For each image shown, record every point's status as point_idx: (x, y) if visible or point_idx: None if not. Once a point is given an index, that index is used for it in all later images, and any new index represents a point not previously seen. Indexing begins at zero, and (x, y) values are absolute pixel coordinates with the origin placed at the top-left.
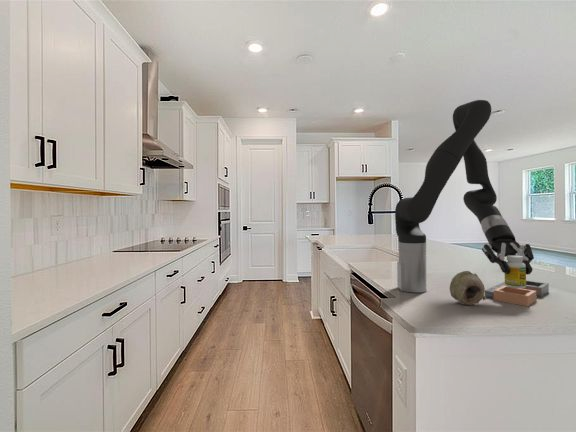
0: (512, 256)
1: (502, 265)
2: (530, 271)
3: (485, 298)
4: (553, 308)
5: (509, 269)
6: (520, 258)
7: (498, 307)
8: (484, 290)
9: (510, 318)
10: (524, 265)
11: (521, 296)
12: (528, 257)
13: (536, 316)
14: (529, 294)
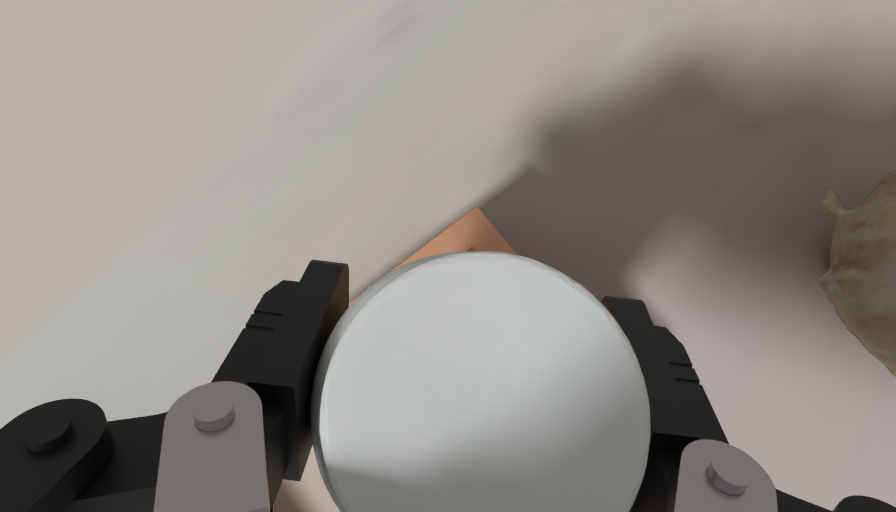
0: (563, 387)
1: (698, 393)
2: (335, 263)
3: (831, 194)
4: (325, 185)
5: (619, 302)
6: (462, 257)
7: (690, 217)
8: (874, 201)
9: (732, 27)
10: (396, 271)
11: (504, 240)
12: (93, 482)
13: (558, 52)
14: (420, 257)
